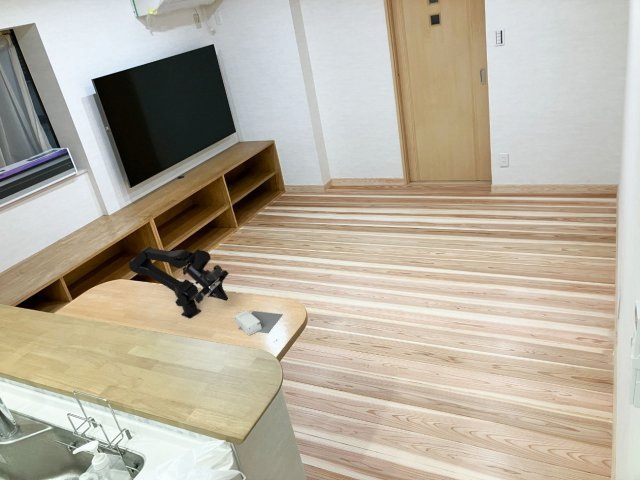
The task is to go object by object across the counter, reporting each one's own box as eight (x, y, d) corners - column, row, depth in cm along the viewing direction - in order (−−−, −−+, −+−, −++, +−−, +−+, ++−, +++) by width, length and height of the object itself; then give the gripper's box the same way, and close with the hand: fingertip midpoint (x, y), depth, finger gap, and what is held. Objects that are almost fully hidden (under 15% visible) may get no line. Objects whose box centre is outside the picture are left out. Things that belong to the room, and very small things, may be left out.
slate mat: (238, 329, 211) (238, 328, 211) (254, 311, 221) (254, 310, 221) (268, 333, 205) (267, 332, 205) (282, 314, 215) (282, 314, 215)
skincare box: (235, 323, 214) (248, 336, 205) (233, 314, 212) (246, 327, 203) (248, 317, 217) (262, 330, 208) (246, 308, 215) (260, 320, 206)
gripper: (193, 275, 202) (223, 302, 202) (219, 252, 217) (247, 277, 217) (182, 290, 209) (211, 316, 209) (209, 267, 224) (236, 291, 224)
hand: (227, 299), depth 215 cm, fingers closed
